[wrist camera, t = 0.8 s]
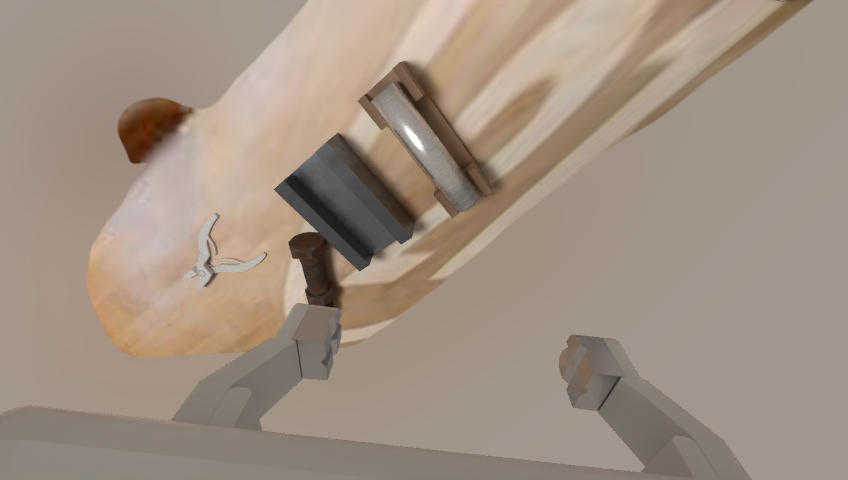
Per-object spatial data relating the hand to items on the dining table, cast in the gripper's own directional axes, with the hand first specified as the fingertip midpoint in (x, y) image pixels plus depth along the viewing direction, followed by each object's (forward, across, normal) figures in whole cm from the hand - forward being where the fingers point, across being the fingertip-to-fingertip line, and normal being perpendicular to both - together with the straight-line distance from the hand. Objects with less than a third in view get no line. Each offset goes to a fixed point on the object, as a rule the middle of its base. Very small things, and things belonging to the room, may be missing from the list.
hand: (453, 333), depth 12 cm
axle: (+29, +2, +2) cm, 29 cm away
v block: (+34, +12, +11) cm, 38 cm away
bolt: (+35, +18, +25) cm, 47 cm away
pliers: (+35, +35, +25) cm, 55 cm away
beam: (+34, +2, +2) cm, 34 cm away
